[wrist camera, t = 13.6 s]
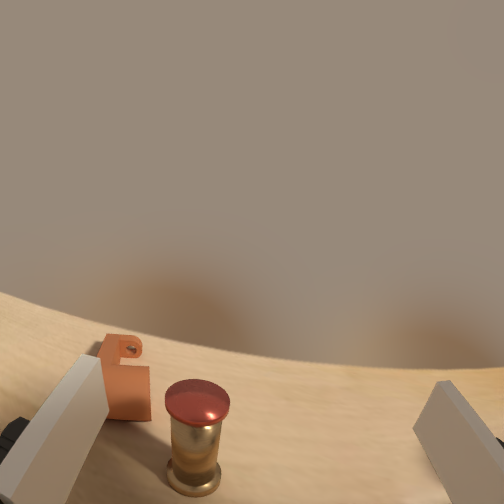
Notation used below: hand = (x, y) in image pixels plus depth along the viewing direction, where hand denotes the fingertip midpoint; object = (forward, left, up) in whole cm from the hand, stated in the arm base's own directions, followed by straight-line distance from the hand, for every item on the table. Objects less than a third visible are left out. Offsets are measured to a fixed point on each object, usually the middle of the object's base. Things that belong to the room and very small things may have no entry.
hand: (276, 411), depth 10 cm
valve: (+4, -14, -26) cm, 30 cm away
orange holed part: (+17, -29, -27) cm, 43 cm away
